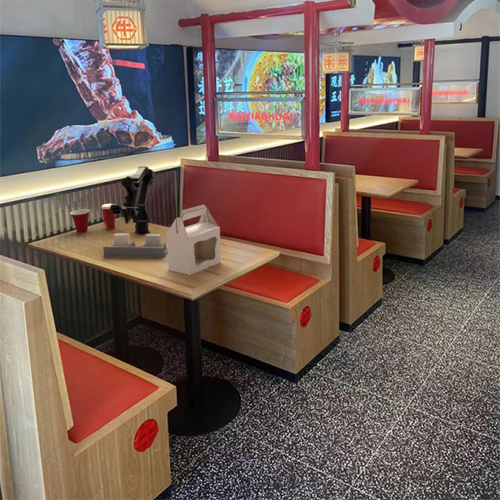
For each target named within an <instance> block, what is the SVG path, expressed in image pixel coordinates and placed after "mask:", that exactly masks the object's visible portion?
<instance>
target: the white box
mask: <svg viewBox="0 0 500 500" xmlns="http://www.w3.org/2000/svg"><path fill="white" fill-rule="evenodd" d="M144 236H145V237H144V239H145V243H146V247H161V245H162V234H160V233H146V234H145V235H144Z"/></svg>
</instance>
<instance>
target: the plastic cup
mask: <svg viewBox="0 0 500 500" xmlns="http://www.w3.org/2000/svg"><path fill="white" fill-rule="evenodd" d="M69 214H70V216H71V218H72V221H73V223H74V227H75V230H76V232H77V233H79V234H82V233H83V234H84V233H87V232H88V229H89V227H88V226H89V217H90V209H77V210H73V211H71V212H69Z"/></svg>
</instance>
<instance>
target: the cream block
mask: <svg viewBox="0 0 500 500" xmlns="http://www.w3.org/2000/svg"><path fill="white" fill-rule="evenodd" d="M113 243H114V245H115V246H129V245H130V244H131V240H130V233H115V234H113Z"/></svg>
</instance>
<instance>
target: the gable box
mask: <svg viewBox="0 0 500 500" xmlns="http://www.w3.org/2000/svg"><path fill="white" fill-rule="evenodd" d="M196 217H200V218H199V221H198V223H195V224H191V225H188V226H185V223H184V221H186V220H191V219H192V218H193V219H194V218H196ZM166 248H167V251H168V253H167V266H168V267H167V269H168V271H170V270H171V271H172V272H174V271H175V273H178V272H180V273H179V274H181V273H184V274H183V275H185V274H188V275H187V276H189V275H190V276H192V275H191V274H193V275H195V274H197V273H199V271H200V272H202V271H204V270H203V269H205V270H207V269H209V268H211V267H210V266H212V267H214V266H217V265H219V264H221V263H222V262H221V260H222V259H221V256H222V255H221V227H220V225H219V224H218V222H217V221H216V220H215V218H214V216H213V215H212V214H211V212H210V210H209V209H208V207H207V206H206V205H205V204H200V205H197V206H196V205H195V206H193V207H189V208H186V209H182V210H180V211H179V217H176V218H175V219H174V221H173V223H172V225H170V228H169V229H168V230H167V232H166ZM220 262H221V263H220ZM218 263H219V264H218ZM216 264H217V265H216ZM213 265H214V266H213ZM208 267H209V268H208ZM206 268H207V269H206ZM201 270H202V271H201ZM196 272H197V273H196ZM194 273H195V274H194Z"/></svg>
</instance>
